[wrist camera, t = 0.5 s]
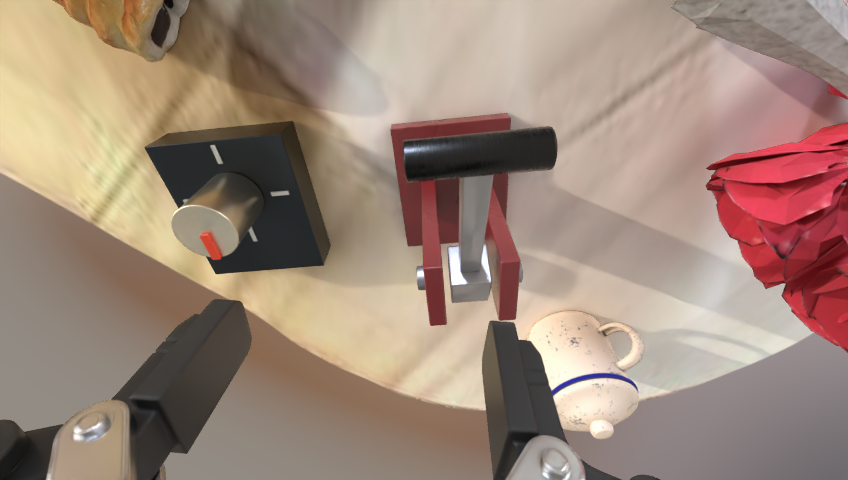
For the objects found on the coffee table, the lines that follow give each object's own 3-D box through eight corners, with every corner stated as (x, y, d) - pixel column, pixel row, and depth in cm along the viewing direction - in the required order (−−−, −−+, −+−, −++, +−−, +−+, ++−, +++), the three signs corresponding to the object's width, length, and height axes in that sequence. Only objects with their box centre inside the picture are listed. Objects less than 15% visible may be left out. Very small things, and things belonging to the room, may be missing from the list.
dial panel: (167, 133, 28) (142, 148, 25) (293, 120, 27) (280, 134, 25) (230, 254, 35) (214, 275, 32) (330, 245, 34) (323, 266, 32)
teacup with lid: (558, 367, 46) (595, 466, 36) (507, 340, 43) (533, 441, 33) (639, 314, 41) (707, 414, 31) (587, 279, 37) (646, 378, 28)
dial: (198, 174, 27) (155, 210, 22) (252, 169, 26) (220, 204, 22) (221, 221, 29) (187, 262, 25) (271, 217, 29) (246, 257, 25)
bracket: (391, 124, 28) (372, 217, 16) (507, 112, 27) (570, 200, 16) (408, 239, 34) (403, 363, 23) (502, 231, 34) (545, 353, 22)
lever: (401, 121, 12) (402, 175, 11) (547, 106, 12) (565, 160, 11) (426, 269, 23) (428, 305, 22) (505, 263, 23) (511, 298, 21)
